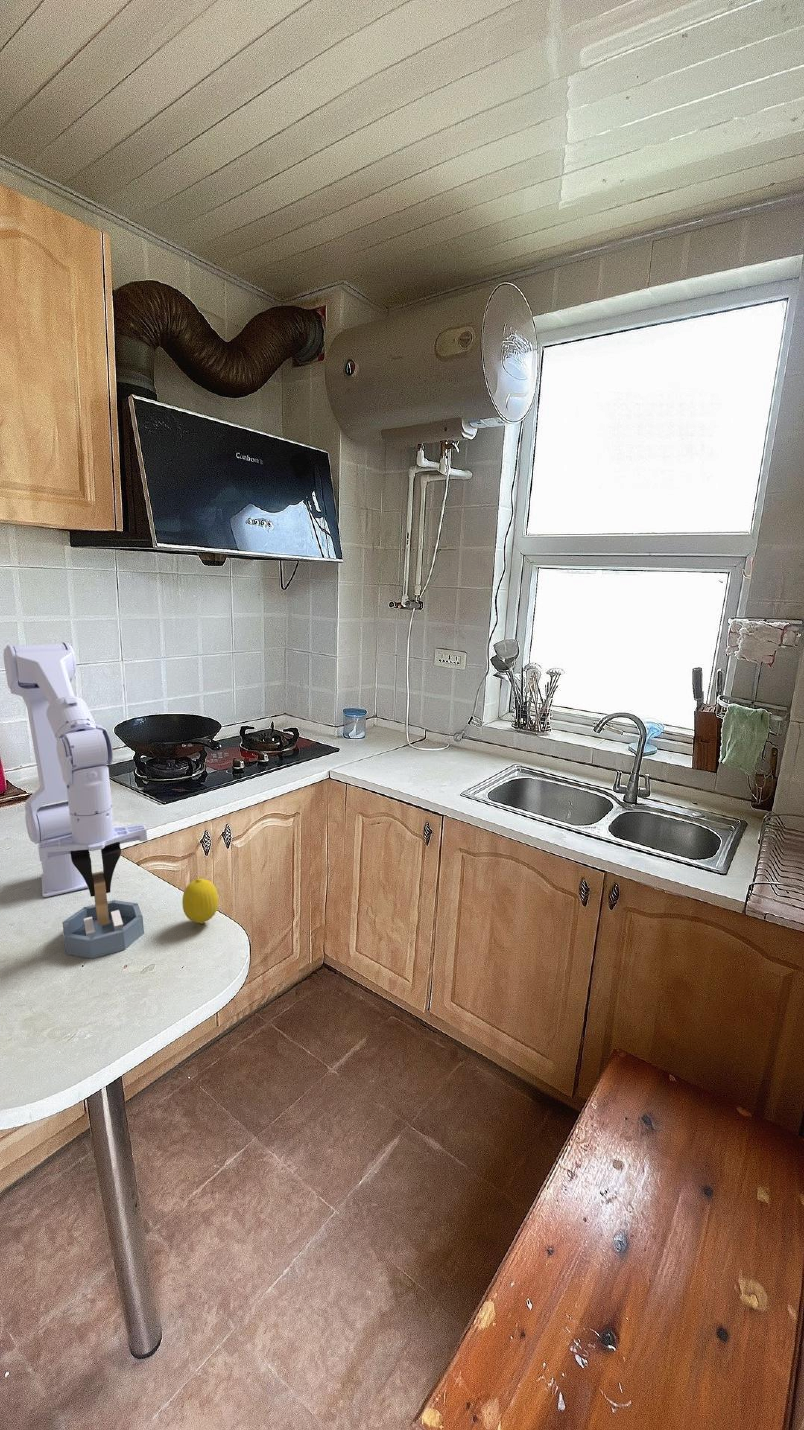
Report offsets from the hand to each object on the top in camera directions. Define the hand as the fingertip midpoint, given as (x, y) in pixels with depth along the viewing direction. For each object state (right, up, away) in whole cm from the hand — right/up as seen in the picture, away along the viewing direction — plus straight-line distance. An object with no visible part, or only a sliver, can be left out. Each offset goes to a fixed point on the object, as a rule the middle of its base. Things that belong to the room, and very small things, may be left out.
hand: (99, 891), depth 93 cm
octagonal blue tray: (0, -7, +2) cm, 8 cm away
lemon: (+14, -7, +6) cm, 17 cm away
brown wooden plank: (0, -4, +1) cm, 5 cm away
